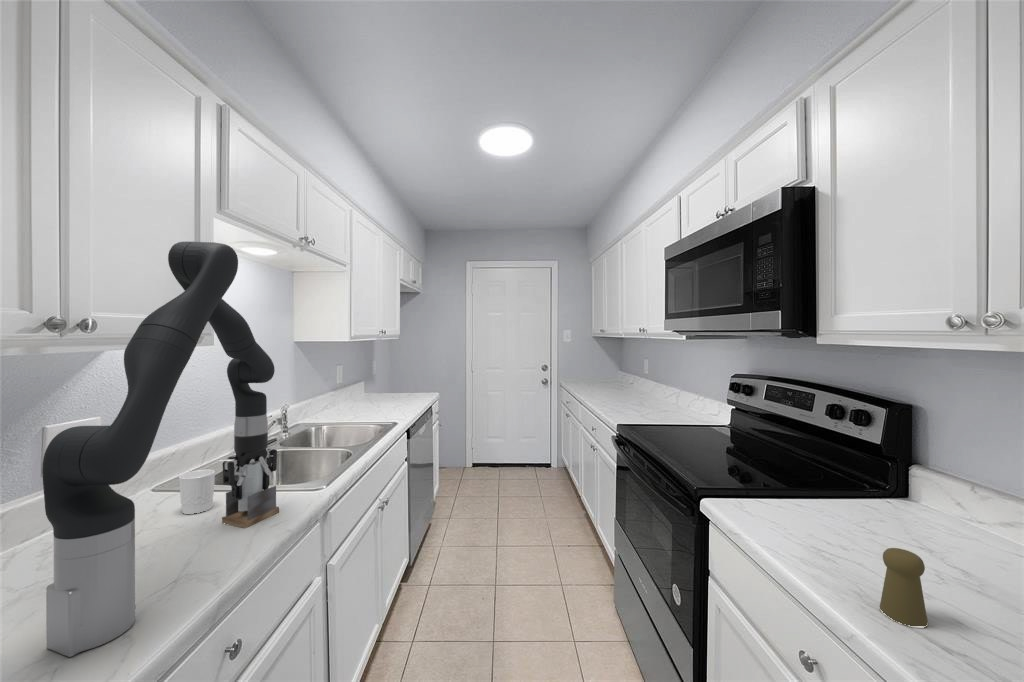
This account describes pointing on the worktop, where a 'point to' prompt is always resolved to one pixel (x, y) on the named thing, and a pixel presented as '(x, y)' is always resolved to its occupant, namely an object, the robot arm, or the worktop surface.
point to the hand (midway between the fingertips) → (251, 494)
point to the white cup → (197, 491)
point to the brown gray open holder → (251, 508)
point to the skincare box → (250, 483)
